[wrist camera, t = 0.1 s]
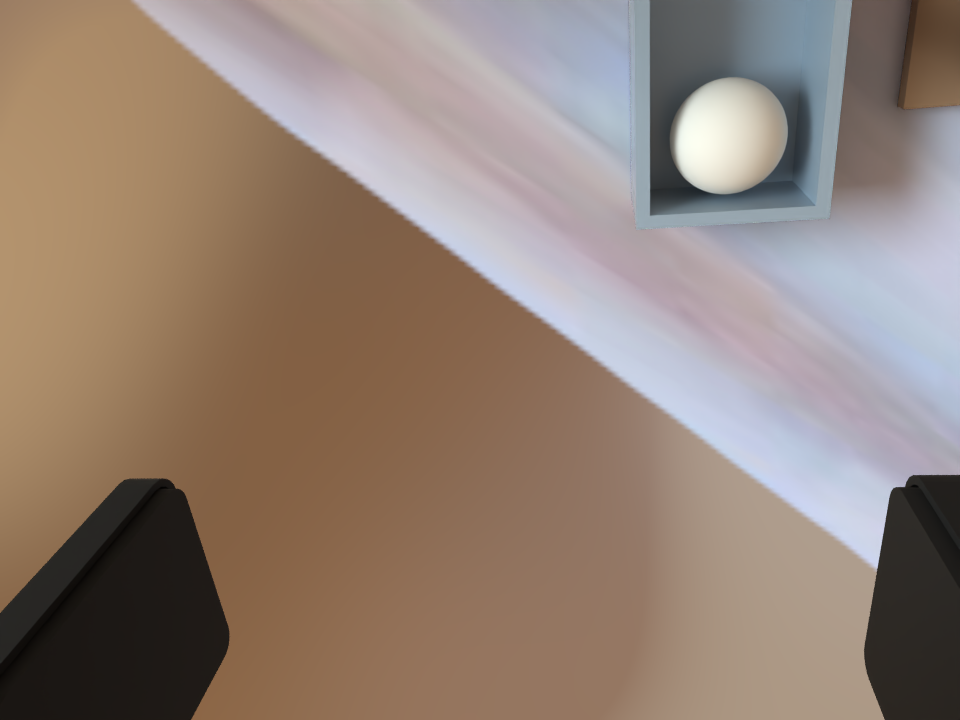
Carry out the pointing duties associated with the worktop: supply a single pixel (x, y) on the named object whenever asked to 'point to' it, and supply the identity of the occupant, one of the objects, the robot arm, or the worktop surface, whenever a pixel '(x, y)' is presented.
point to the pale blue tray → (746, 54)
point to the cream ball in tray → (728, 135)
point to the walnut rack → (931, 56)
